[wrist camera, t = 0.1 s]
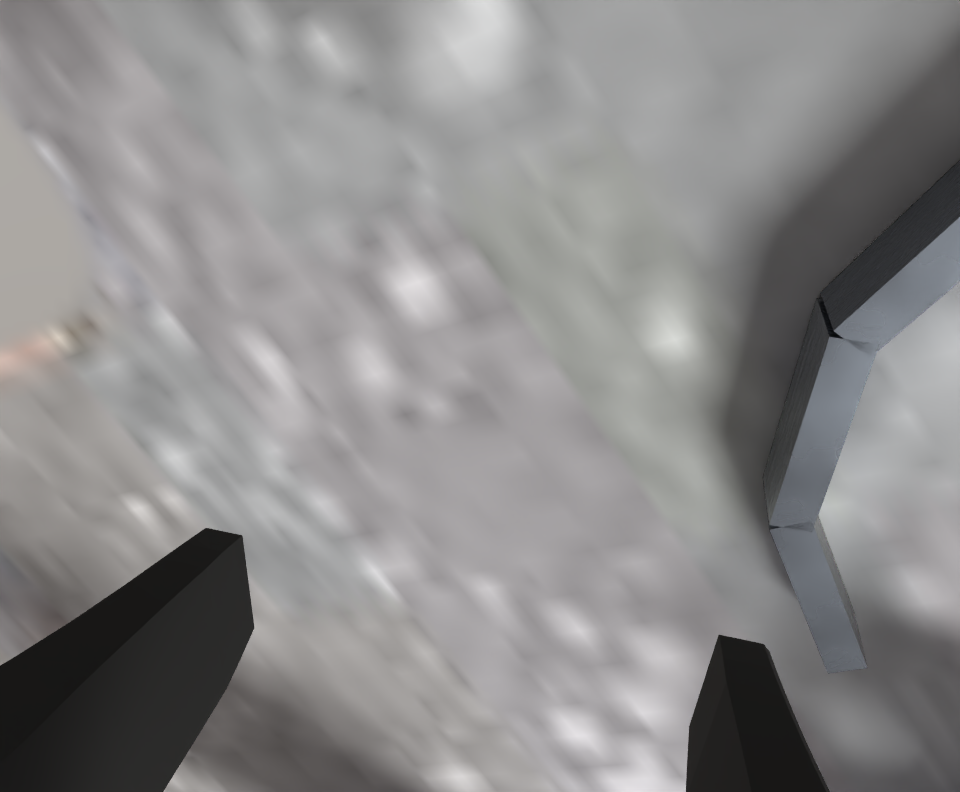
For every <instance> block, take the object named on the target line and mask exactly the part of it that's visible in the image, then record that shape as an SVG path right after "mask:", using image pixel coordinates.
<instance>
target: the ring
mask: <svg viewBox="0 0 960 792" xmlns="http://www.w3.org/2000/svg"><path fill="white" fill-rule="evenodd" d="M959 281H960V161H959V162H957V163H956V164H955V165H954V166H953V167H952V168H951V169H950V170H949V171H948V172H947V173H946V174H945V175H944V176H943V177H942V178H941V179H940V180H939V181H937V182H936V183H935V184H934V185H933V186H932V187H931V188H930V189H929V190H928V191H927V192H926V193H925V194H924V195H923V196H922V197H921V198H920V199H919V200H917V201H916V202H915V203H914V204H913V205H912V206H911V207H910V208H909V209H908V210H907V211H906V212H905V213H904V214H903V215H902V216H901V217H900V218H899V219H897V220H896V221H895V222H894V223H893V224H892V225H891V226H890V227H889V228H888V229H887V230H886V231H885V232H884V233H883V234H882V235H881V236H880V237H879V238H877V239H876V240H875V241H874V242H873V243H872V244H871V245H870V246H869V247H868V248H867V249H866V250H865V251H864V252H863V253H862V254H861V255H860V256H858V257H857V258H856V259H855V260H854V261H853V262H852V263H851V264H850V265H849V266H848V267H847V268H846V269H845V270H844V271H843V272H842V273H841V274H840V275H838V276H837V277H836V278H835V279H834V280H833V281H832V282H831V283H830V284H829V285H828V286H827V287H826V288H825V289H824V290H823V291H822V292H821V296H822V299H818V298H817V299H816V303H815V306H814V309H813V313H812V316H811V319H810V323H809V326H808V329H807V332H806V336H805V339H804V342H803V346H802V349H801V352H800V356H799V359H798V362H797V365H796V369H795V372H794V375H793V379H792V382H791V385H790V389H789V392H788V395H787V399H786V402H785V405H784V408H783V412H782V415H781V418H780V422H779V425H778V428H777V432H776V435H775V438H774V442H773V445H772V448H771V451H770V455H769V458H768V461H767V465H766V468H765V471H764V475H763V484H764V492H765V499H766V507H767V514H768V522H769V530H770V532H771V535H772V537H773V540H774V542H775V544H776V547H777V549H778V552H779V554H780V557H781V559H782V562H783V564H784V567H785V569H786V571H787V574H788V576H789V579H790V581H791V584H792V586H793V589H794V591H795V594H796V596H797V598H798V601H799V603H800V606H801V608H802V611H803V613H804V616H805V618H806V621H807V623H808V625H809V628H810V630H811V633H812V635H813V638H814V640H815V643H816V645H817V648H818V650H819V652H820V655H821V657H822V660H823V662H824V665H825V667H826V670H827V672H828V673H835V672H842V671H849V670H856V669H864V668H867V664H866V660H865V656H864V651H863V647H862V643H861V639H860V634H859V630H858V626H857V622H856V618H855V613H854V610H853V608H852V605H851V602H850V600H849V597H848V594H847V592H846V589H845V586H844V584H843V581H842V578H841V576H840V573H839V570H838V567H837V565H836V562H835V559H834V557H833V554H832V551H831V549H830V546H829V543H828V541H827V538H826V535H825V533H824V530H823V527H822V525H821V522H820V519H819V517H818V514H819V511H820V508H821V506H822V503H823V500H824V497H825V494H826V492H827V489H828V486H829V483H830V481H831V478H832V475H833V472H834V470H835V467H836V464H837V461H838V458H839V456H840V453H841V450H842V447H843V445H844V442H845V439H846V436H847V433H848V431H849V428H850V425H851V422H852V420H853V417H854V414H855V411H856V409H857V406H858V403H859V400H860V397H861V395H862V392H863V389H864V386H865V384H866V381H867V378H868V375H869V372H870V370H871V367H872V364H873V361H874V359H875V356H876V353H877V351H879V350H880V349H881V348H882V347H883V346H884V345H886V344H887V343H888V342H889V341H890V340H891V339H893V338H894V337H895V336H896V335H897V334H898V333H900V332H901V331H902V330H903V329H904V328H906V327H907V326H908V325H909V324H910V323H911V322H913V321H914V320H915V319H916V318H917V317H918V316H920V315H921V314H922V313H923V312H924V311H925V310H927V309H928V308H929V307H930V306H931V305H932V304H934V303H935V302H936V301H937V300H938V299H939V298H941V297H942V296H943V295H944V294H945V293H946V292H948V291H949V290H950V289H951V288H952V287H954V286H955V285H956V284H957V283H958V282H959Z"/></svg>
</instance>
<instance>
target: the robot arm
mask: <svg viewBox="0 0 960 792" xmlns="http://www.w3.org/2000/svg"><path fill="white" fill-rule="evenodd" d="M253 629H254V622H253V614H252V606H251V599H250V591H249V583H248V576H247V568H246V560H245V553H244V545H243V537H242V535H237V534H233V533H228V532H223V531H218V530H213V529H209V528H205V529H204V530H202V531H201V532H200V533H198V534H197V535H195V536H194V537H192V538H191V539H189V540H188V541H186V542H185V543H184V544H182V545H181V546H179V547H178V548H176V549H175V550H174V551H172V552H171V553H169V554H168V555H166V556H165V557H164V558H162V559H161V560H159V561H158V562H157V563H155V564H154V565H152V566H151V567H150V568H148V569H147V570H145V571H144V572H142V573H141V574H140V575H138V576H137V577H135V578H134V579H133V580H131V581H130V582H128V583H127V584H125V585H124V586H123V587H121V588H120V589H118V590H117V591H115V592H114V593H112V594H111V595H109V596H108V597H106V598H105V599H104V600H102V601H101V602H99V603H98V604H96V605H95V606H93V607H92V608H90V609H89V610H87V611H86V612H84V613H83V614H82V615H80V616H79V617H77V618H76V619H74V620H73V621H71V622H70V623H68V624H66V625H65V626H63V627H62V628H60V629H58V630H57V631H55V632H54V633H52V634H51V635H49V636H47V637H46V638H44V639H43V640H41V641H39V642H38V643H36V644H35V645H33V646H32V647H30V648H28V649H27V650H25V651H24V652H22V653H20V654H19V655H17V656H16V657H14V658H12V659H11V660H9V661H7V662H6V663H4V664H2V665H1V666H0V792H163V791H164V790H165V788H166V786H167V785H168V783H169V781H170V780H171V778H172V777H173V775H174V773H175V772H176V770H177V769H178V767H179V765H180V764H181V762H182V760H183V759H184V757H185V756H186V754H187V752H188V751H189V749H190V748H191V746H192V744H193V743H194V741H195V740H196V738H197V736H198V735H199V733H200V731H201V730H202V728H203V726H204V725H205V723H206V722H207V720H208V718H209V717H210V715H211V713H212V712H213V710H214V708H215V707H216V705H217V703H218V702H219V700H220V698H221V697H222V695H223V693H224V692H225V690H226V688H227V686H228V684H229V682H230V680H231V678H232V676H233V674H234V672H235V669H236V667H237V665H238V663H239V661H240V659H241V657H242V654H243V652H244V650H245V648H246V645H247V643H248V641H249V638H250V636H251V634H252V632H253ZM686 792H830V791H829V789H828V787H827V785H826V783H825V781H824V779H823V777H822V775H821V773H820V770H819V768H818V766H817V764H816V762H815V760H814V758H813V756H812V754H811V751H810V749H809V747H808V745H807V743H806V741H805V738H804V736H803V734H802V731H801V729H800V727H799V725H798V722H797V720H796V718H795V715H794V713H793V711H792V708H791V706H790V704H789V701H788V699H787V696H786V694H785V691H784V689H783V686H782V684H781V681H780V679H779V676H778V673H777V671H776V668H775V666H774V663H773V660H772V657H771V655H770V652H769V650H768V649H767V648H766V647H765V645H764V644H761V643H756V642H751V641H746V640H742V639H737V638H732V637H727V636H722V635H719V636H718V639H717V642H716V645H715V648H714V651H713V654H712V658H711V661H710V664H709V667H708V670H707V673H706V676H705V679H704V682H703V686H702V689H701V692H700V695H699V698H698V701H697V704H696V707H695V710H694V714H693V717H692V720H691V723H690V726H689V742H688V759H687V780H686Z"/></svg>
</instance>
